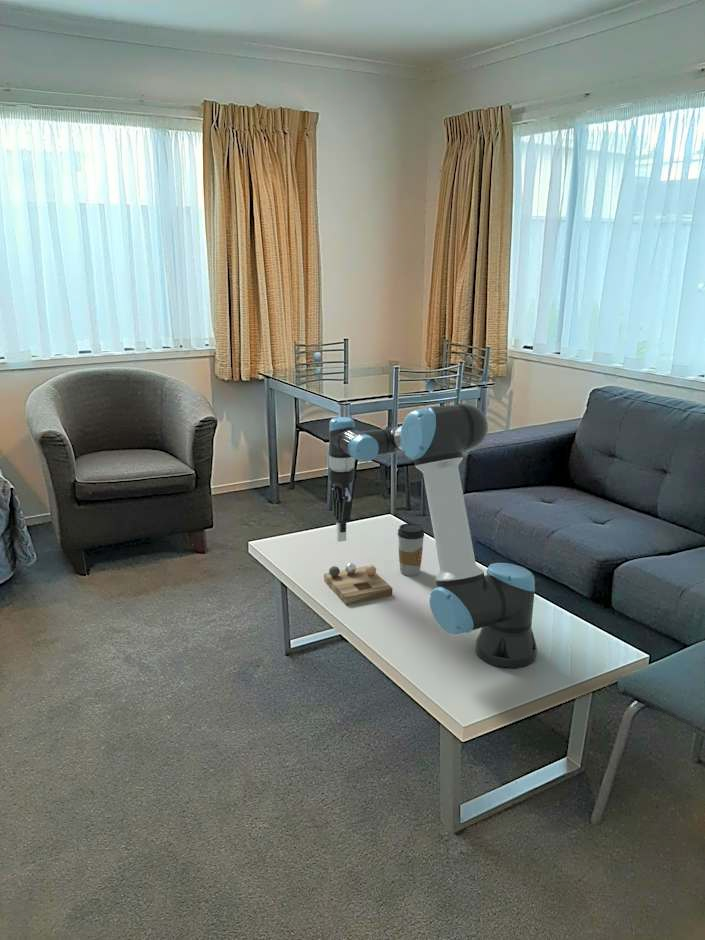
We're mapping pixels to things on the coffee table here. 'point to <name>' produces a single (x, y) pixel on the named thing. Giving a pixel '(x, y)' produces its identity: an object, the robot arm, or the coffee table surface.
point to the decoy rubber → (334, 571)
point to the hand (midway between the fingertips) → (341, 540)
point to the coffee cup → (410, 548)
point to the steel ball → (350, 568)
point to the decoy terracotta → (370, 570)
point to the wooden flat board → (358, 586)
